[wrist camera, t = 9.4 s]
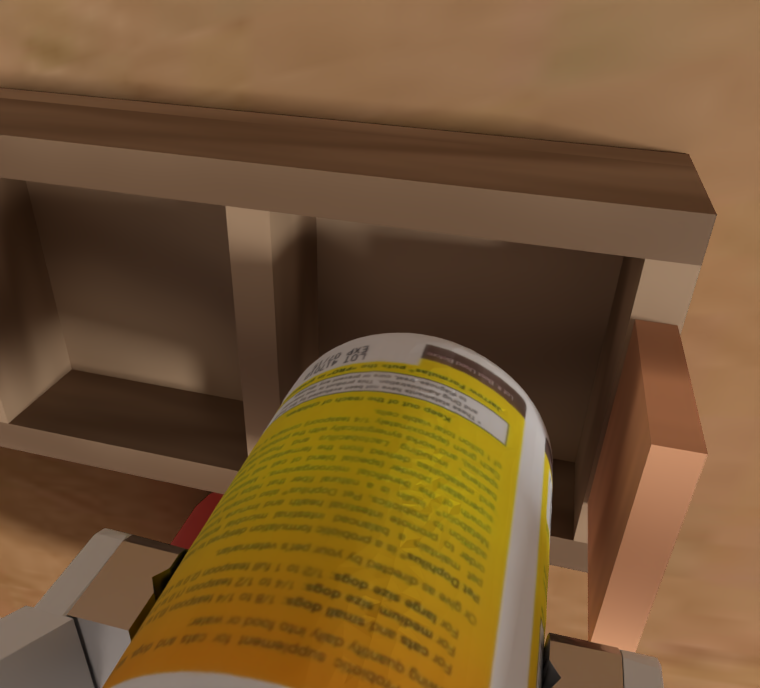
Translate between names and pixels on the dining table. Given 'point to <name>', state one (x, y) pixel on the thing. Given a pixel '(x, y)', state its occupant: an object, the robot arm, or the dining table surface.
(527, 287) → the wooden compartment tray
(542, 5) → the dining table surface
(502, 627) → the supplement bottle
